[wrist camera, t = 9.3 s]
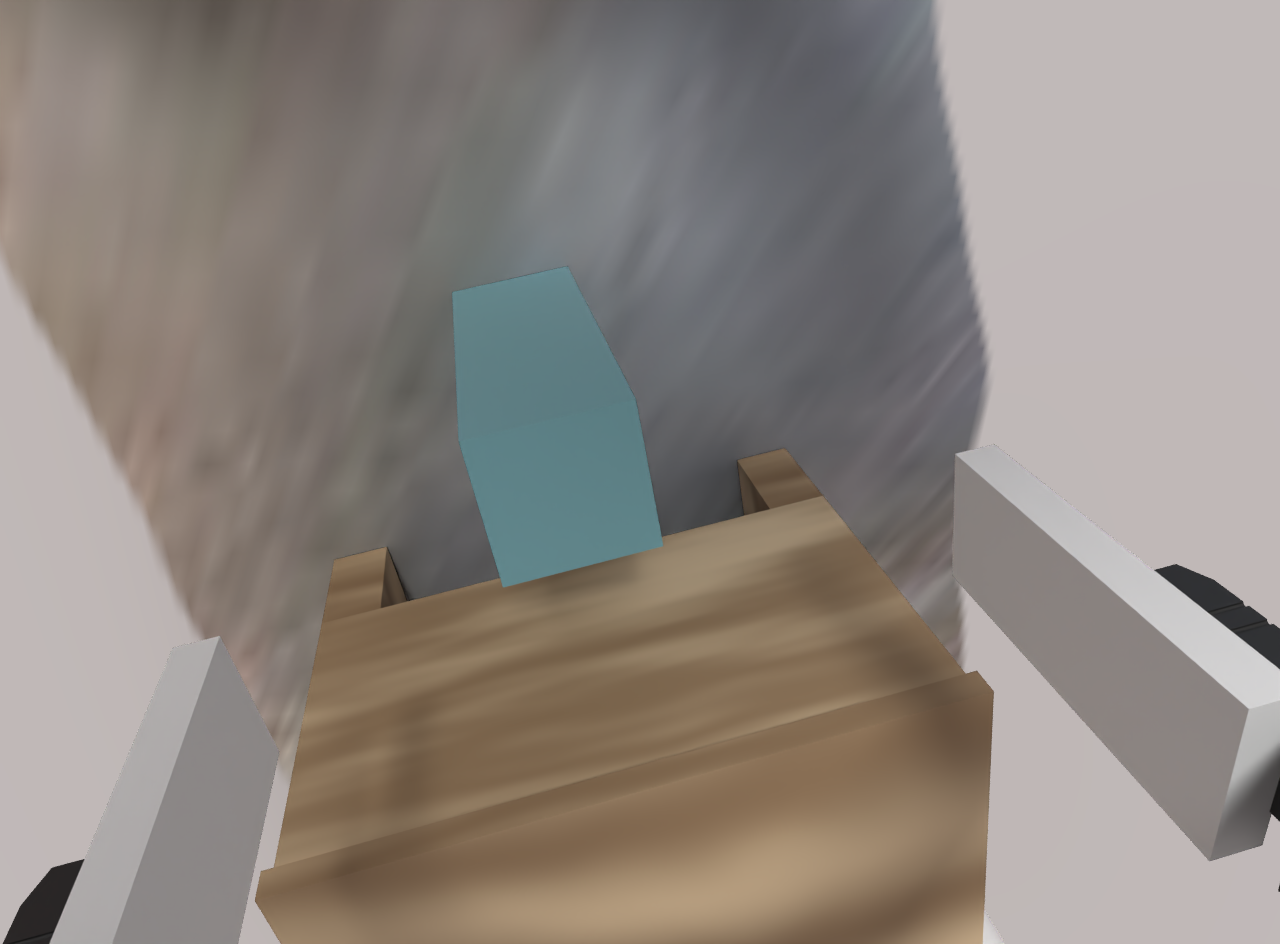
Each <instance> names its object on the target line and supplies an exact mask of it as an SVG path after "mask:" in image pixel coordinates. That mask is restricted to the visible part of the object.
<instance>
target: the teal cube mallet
mask: <svg viewBox="0 0 1280 944" xmlns="http://www.w3.org/2000/svg"><path fill="white" fill-rule="evenodd" d="M452 301H453V324H454V347H455V370H456V393H457V416H458V439H459V445H460V448H461V451H462V454H463V458H464V461H465V464H466V468H467V471H468V474H469V477H470V481H471V484H472V487H473V491H474V494H475V497H476V500H477V504H478V507H479V510H480V514H481V517H482V520H483V523H484V527H485V530H486V533H487V537H488V540H489V543H490V546H491V550H492V553H493V556H494V560H495V563H496V566H497V569H498V573H499V576H500V579H501V583H502V586H503V587H507V586H511V585H515V584H519V583H523V582H527V581H531V580H534V579H538V578H542V577H546V576H550V575H554V574H558V573H562V572H565V571H569V570H573V569H577V568H581V567H585V566H589V565H592V564H596V563H600V562H604V561H608V560H612V559H616V558H620V557H623V556H627V555H631V554H635V553H639V552H643V551H647V550H651V549H654V548H658V547H662V546H663V541H662V536H661V531H660V525H659V520H658V515H657V509H656V504H655V499H654V493H653V488H652V483H651V477H650V472H649V467H648V461H647V456H646V451H645V445H644V440H643V435H642V429H641V424H640V419H639V413H638V408H637V403H636V398H635V396H634V395H633V393H632V391H631V389H630V387H629V385H628V383H627V381H626V379H625V377H624V375H623V373H622V371H621V369H620V367H619V365H618V363H617V361H616V360H615V358H614V356H613V354H612V352H611V350H610V348H609V346H608V344H607V342H606V340H605V338H604V336H603V334H602V332H601V330H600V328H599V326H598V325H597V323H596V321H595V319H594V317H593V315H592V313H591V311H590V309H589V307H588V305H587V303H586V301H585V299H584V297H583V295H582V293H581V292H580V290H579V288H578V286H577V284H576V282H575V280H574V278H573V276H572V274H571V272H570V270H569V268H568V266H566V267H562V268H557V269H553V270H548V271H544V272H539V273H535V274H530V275H526V276H521V277H517V278H513V279H508V280H504V281H499V282H495V283H490V284H486V285H481V286H477V287H472V288H468V289H463V290H459V291H455V292H452Z"/></svg>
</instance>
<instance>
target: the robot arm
mask: <svg viewBox="0 0 1280 944" xmlns="http://www.w3.org/2000/svg"><path fill="white" fill-rule="evenodd" d="M952 576H953V577H954V578H955V579H956V580H957V581H958V582H959V583H960V585H961V586H962V587H963V588H964V589H965V590H966V591H967V592H968V593H969V595H970V596H971V597H972V598H973V599H974V600H975V601H976V602H977V603H978V605H979V606H980V607H981V608H982V609H983V610H984V611H985V612H986V613H987V615H988V616H989V617H990V618H991V619H992V620H993V621H994V622H995V623H996V624H997V626H998V627H999V628H1000V629H1001V630H1002V631H1003V632H1004V633H1005V634H1006V636H1007V637H1008V638H1009V639H1010V640H1011V641H1012V642H1013V643H1014V644H1015V646H1016V647H1017V648H1018V649H1019V650H1020V651H1021V652H1022V653H1023V655H1024V656H1025V657H1026V658H1027V659H1028V660H1029V661H1030V662H1031V663H1032V664H1033V666H1034V667H1035V668H1036V669H1037V670H1038V671H1039V672H1040V673H1041V675H1042V676H1043V677H1044V678H1045V679H1046V680H1047V681H1048V682H1049V683H1050V685H1051V686H1052V687H1053V688H1054V689H1055V690H1056V691H1057V692H1058V693H1059V695H1061V697H1062V698H1063V699H1064V700H1065V701H1066V702H1067V703H1068V705H1069V706H1070V707H1071V708H1072V709H1073V710H1074V711H1075V712H1076V713H1077V715H1078V716H1079V717H1080V718H1081V719H1082V720H1083V721H1084V722H1085V723H1086V725H1087V726H1088V727H1089V728H1090V729H1091V730H1092V731H1093V732H1094V733H1095V734H1096V736H1097V737H1098V738H1099V739H1100V740H1101V741H1102V742H1103V743H1104V745H1105V746H1106V747H1107V748H1108V749H1109V750H1110V751H1111V752H1112V753H1113V755H1114V756H1115V757H1116V758H1117V759H1118V760H1119V761H1120V762H1121V763H1122V765H1123V766H1124V767H1125V768H1126V769H1127V770H1128V771H1129V772H1130V773H1131V775H1132V776H1133V777H1134V778H1135V779H1136V780H1137V781H1138V782H1139V783H1140V784H1141V786H1142V787H1143V788H1144V789H1145V790H1146V791H1147V792H1148V793H1149V794H1150V796H1151V797H1152V798H1153V799H1154V800H1155V801H1156V802H1157V803H1158V804H1159V806H1160V807H1161V808H1162V809H1163V810H1164V811H1165V812H1166V813H1167V814H1168V816H1169V817H1170V818H1171V819H1172V820H1173V821H1174V822H1175V823H1176V825H1177V826H1178V827H1179V828H1180V829H1181V830H1182V831H1183V832H1184V833H1185V835H1186V836H1187V837H1188V838H1189V839H1190V840H1191V841H1192V842H1193V843H1194V845H1195V846H1196V847H1197V848H1198V849H1199V850H1200V851H1201V852H1202V853H1203V854H1204V856H1205V857H1206V858H1207V859H1208V860H1209V861H1212V860H1215V859H1219V858H1222V857H1225V856H1229V855H1232V854H1235V853H1238V852H1242V851H1245V850H1248V849H1252V848H1255V847H1258V846H1261V845H1262V844H1263V841H1264V838H1265V834H1266V831H1267V828H1268V824H1269V821H1270V817H1271V814H1272V815H1274V816H1275V817H1276V818H1277V819H1278V820H1279V821H1280V628H1278V627H1277V626H1275V625H1274V624H1271V625H1270V624H1268V622H1267V619H1266V618H1265V617H1263V616H1262V615H1261V614H1259V613H1258V612H1256V611H1255V610H1254V609H1252V608H1251V607H1250V606H1247V607H1245V606H1244V604H1243V601H1242V600H1240V599H1239V598H1238V597H1236V596H1235V595H1234V594H1232V593H1231V592H1229V591H1228V590H1227V589H1225V588H1224V587H1223V586H1221V585H1220V584H1219V583H1217V582H1216V581H1215V580H1213V579H1211V578H1208V577H1205V576H1203V575H1201V574H1199V573H1196V572H1194V571H1191V570H1189V569H1187V568H1184V567H1182V566H1179V565H1177V564H1175V565H1171V566H1167V567H1164V568H1160V569H1156V570H1153V569H1152V568H1151V567H1149V566H1148V565H1147V564H1145V563H1144V562H1143V561H1142V560H1141V559H1139V558H1138V557H1137V556H1135V555H1134V554H1133V553H1132V552H1130V551H1129V550H1128V549H1126V548H1125V547H1124V546H1123V545H1121V544H1120V543H1119V542H1118V541H1116V540H1115V539H1114V538H1113V537H1111V536H1110V535H1109V534H1107V533H1106V532H1105V531H1104V530H1103V529H1101V528H1100V527H1098V526H1097V525H1096V524H1095V523H1094V522H1092V521H1091V520H1090V519H1088V518H1087V517H1086V516H1085V515H1084V514H1082V513H1081V512H1079V511H1078V510H1077V509H1076V508H1075V507H1073V506H1072V505H1071V504H1069V503H1068V502H1067V501H1066V500H1065V499H1063V498H1062V497H1061V496H1059V495H1058V494H1057V493H1056V492H1054V491H1053V490H1052V489H1051V488H1049V487H1048V486H1047V485H1046V484H1044V483H1043V482H1042V481H1040V480H1039V479H1038V478H1037V477H1035V476H1034V475H1033V474H1032V473H1030V472H1029V471H1028V470H1026V469H1025V468H1024V467H1023V466H1021V465H1020V464H1019V463H1018V462H1016V461H1015V460H1014V459H1013V458H1011V457H1010V456H1009V455H1008V454H1006V453H1005V452H1004V451H1002V450H1001V449H1000V448H999V447H997V446H996V445H995V444H994V445H989V446H985V447H981V448H977V449H973V450H969V451H965V452H961V453H957V454H955V481H954V522H953V563H952ZM278 756H279V750H278V748H277V746H276V744H275V742H274V740H273V738H272V736H271V734H270V732H269V731H268V729H267V727H266V725H265V723H264V721H263V719H262V717H261V715H260V713H259V711H258V709H257V707H256V705H255V703H254V701H253V700H252V698H251V696H250V694H249V692H248V690H247V688H246V686H245V684H244V682H243V680H242V678H241V676H240V674H239V672H238V670H237V668H236V667H235V665H234V663H233V661H232V659H231V657H230V655H229V653H228V651H227V649H226V647H225V645H224V643H223V641H222V639H221V637H220V636H218V637H214V638H210V639H206V640H202V641H198V642H194V643H190V644H186V645H181V646H178V647H174V648H172V651H171V653H170V656H169V658H168V660H167V663H166V665H165V668H164V670H163V672H162V675H161V677H160V680H159V682H158V684H157V687H156V689H155V692H154V694H153V696H152V699H151V701H150V704H149V706H148V708H147V711H146V714H145V716H144V718H143V720H142V723H141V725H140V728H139V730H138V732H137V735H136V738H135V740H134V742H133V744H132V747H131V749H130V752H129V754H128V757H127V759H126V761H125V764H124V766H123V769H122V771H121V773H120V776H119V778H118V780H117V783H116V785H115V788H114V790H113V792H112V795H111V797H110V800H109V802H108V804H107V807H106V809H105V812H104V814H103V816H102V819H101V821H100V824H99V826H98V828H97V831H96V833H95V836H94V838H93V840H92V843H91V846H90V847H89V850H88V852H87V855H86V857H85V859H83V860H79V861H75V862H71V863H68V864H64V865H60V866H57V867H53V868H51V870H50V871H49V872H48V873H47V874H46V876H45V877H44V878H43V879H42V880H41V882H40V883H39V884H38V885H37V886H36V888H35V889H34V890H33V891H32V892H31V894H30V895H29V896H28V897H27V899H26V900H25V901H24V902H23V904H22V905H21V906H20V908H19V910H18V912H17V914H16V917H15V919H14V921H13V923H12V925H11V927H10V929H9V931H8V934H7V936H6V938H5V940H4V942H3V944H238V941H239V936H240V932H241V927H242V923H243V918H244V913H245V909H246V904H247V899H248V895H249V890H250V886H251V881H252V876H253V872H254V867H255V862H256V858H257V853H258V849H259V844H260V839H261V835H262V830H263V825H264V820H265V816H266V811H267V807H268V802H269V798H270V793H271V788H272V784H273V779H274V775H275V770H276V765H277V761H278ZM1279 892H1280V886H1279Z"/></svg>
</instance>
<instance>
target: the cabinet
mask: <svg viewBox="0 0 1280 944" xmlns="http://www.w3.org/2000/svg"><path fill="white" fill-rule="evenodd" d="M737 463H738V471H739V479H740V487H741V495H742V502H743V510H744V516H741V517H737V518H733V519H730V520H726V521H722V522H718V523H714V524H710V525H706V526H702V527H698V528H694V529H690V530H686V531H682V532H679V533H675V534H671V535H667V536H663V537H662V541H663V546H662V547H658V548H654V549H651V550H647V551H643V552H639V553H635V554H631V555H627V556H623V557H620V558H616V559H612V560H608V561H604V562H600V563H596V564H592V565H589V566H585V567H581V568H577V569H573V570H569V571H565V572H562V573H558V574H554V575H550V576H546V577H542V578H538V579H534V580H531V581H527V582H523V583H519V584H515V585H511V586H507V587H503V586H502V583H501V579H500V578H498V579H494V580H490V581H486V582H482V583H478V584H474V585H470V586H466V587H463V588H459V589H455V590H451V591H447V592H443V593H439V594H435V595H431V596H427V597H423V598H419V599H415V600H412V601H408V602H407V600H406V597H405V595H404V592H403V589H402V586H401V584H400V581H399V578H398V576H397V573H396V570H395V568H394V565H393V562H392V560H391V557H390V554H389V551H388V549H387V547H384V548H380V549H376V550H372V551H368V552H364V553H360V554H356V555H352V556H348V557H344V558H340V559H336V560H334V564H333V570H332V575H331V580H330V585H329V590H328V595H327V600H326V605H325V610H324V615H323V620H322V625H321V630H320V636H319V641H318V646H317V651H316V656H315V661H314V666H313V671H312V676H311V681H310V686H309V691H308V696H307V702H306V707H305V712H304V717H303V722H302V727H301V732H300V737H299V742H298V747H297V752H296V757H295V762H294V768H293V773H292V778H291V783H290V788H289V793H288V798H287V803H286V808H285V813H284V819H283V824H282V829H281V834H280V839H279V844H278V849H277V854H276V859H275V864H274V868H271V869H267V870H264V871H261V874H260V878H259V884H258V888H257V892H256V897H255V902H256V904H257V905H258V907H259V908H260V910H261V912H262V913H263V915H264V916H265V918H266V920H267V922H268V923H269V925H270V926H271V928H272V930H273V932H274V933H275V935H276V936H277V938H278V940H279V941H280V943H281V944H983V926H984V902H985V880H986V856H987V834H988V811H989V787H990V766H991V741H992V719H993V698H994V691H993V690H992V689H991V687H990V686H989V685H988V684H987V683H986V681H985V680H984V679H983V678H982V676H981V675H980V674H979V673H978V672H977V671H974V672H970V673H967V674H965V672H964V671H963V670H962V669H961V667H960V666H959V665H958V664H957V662H956V661H955V660H954V659H953V657H952V656H951V655H950V654H949V652H948V651H947V650H946V649H945V647H944V646H943V645H942V644H941V642H940V641H939V640H938V639H937V637H936V636H935V635H934V634H933V632H932V631H931V630H930V629H929V627H928V626H927V625H926V624H925V622H924V621H923V620H922V619H921V617H920V616H919V615H918V614H917V612H916V611H915V610H914V609H913V607H912V606H911V605H910V604H909V602H908V601H907V600H906V599H905V597H904V596H903V595H902V594H901V592H900V591H899V590H898V589H897V587H896V586H895V585H894V584H893V582H892V581H891V580H890V579H889V577H888V576H887V575H886V574H885V572H884V571H883V570H882V569H881V567H880V566H879V565H878V564H877V562H876V561H875V560H874V559H873V557H872V556H871V555H870V554H869V552H868V551H867V550H866V549H865V547H864V546H863V545H862V544H861V542H860V541H859V540H858V539H857V537H856V536H855V535H854V534H853V532H852V531H851V530H850V529H849V527H848V526H847V525H846V524H845V522H844V521H843V520H842V519H841V517H840V516H839V515H838V514H837V512H836V511H835V510H834V509H833V507H832V506H831V505H830V504H829V502H828V501H827V500H826V499H825V497H824V496H823V495H822V494H821V492H820V491H819V490H818V489H817V488H816V486H815V485H814V484H813V483H812V481H811V480H810V479H809V478H808V476H807V475H806V474H805V473H804V471H803V470H802V469H801V468H800V466H799V465H798V464H797V463H796V461H795V460H794V459H793V458H792V456H791V455H790V454H789V453H788V451H787V450H786V449H785V448H783V449H779V450H775V451H771V452H767V453H763V454H759V455H755V456H751V457H747V458H743V459H739V460H737Z"/></svg>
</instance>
